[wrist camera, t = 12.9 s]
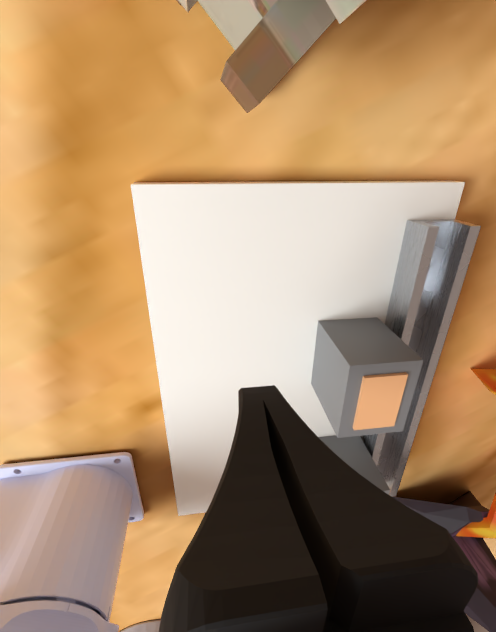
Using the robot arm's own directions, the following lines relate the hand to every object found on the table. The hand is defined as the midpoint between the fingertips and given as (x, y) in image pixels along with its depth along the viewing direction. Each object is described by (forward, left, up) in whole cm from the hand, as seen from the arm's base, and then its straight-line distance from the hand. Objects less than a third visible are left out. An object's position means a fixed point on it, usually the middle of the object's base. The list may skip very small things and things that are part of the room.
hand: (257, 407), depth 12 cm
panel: (+4, -6, -10) cm, 12 cm away
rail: (+12, -6, -9) cm, 16 cm away
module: (+7, -4, -9) cm, 12 cm away
